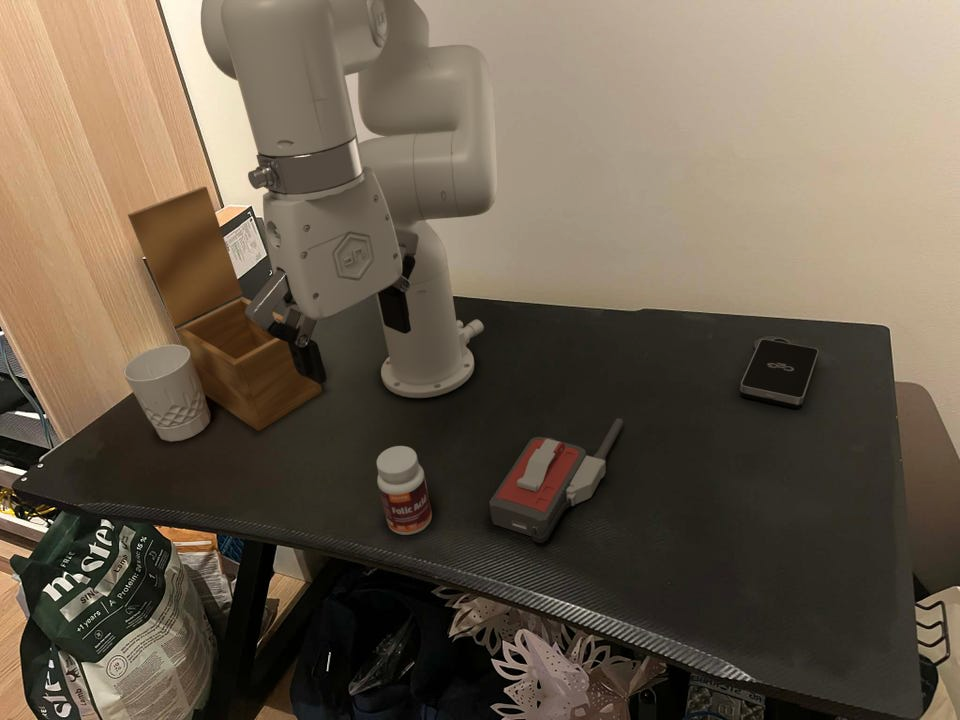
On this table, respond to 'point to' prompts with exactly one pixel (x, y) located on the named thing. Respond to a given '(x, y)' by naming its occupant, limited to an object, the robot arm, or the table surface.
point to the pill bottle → (403, 490)
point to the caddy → (245, 365)
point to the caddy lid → (186, 254)
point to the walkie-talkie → (548, 484)
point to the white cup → (169, 391)
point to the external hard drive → (779, 373)
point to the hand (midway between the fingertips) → (357, 352)
